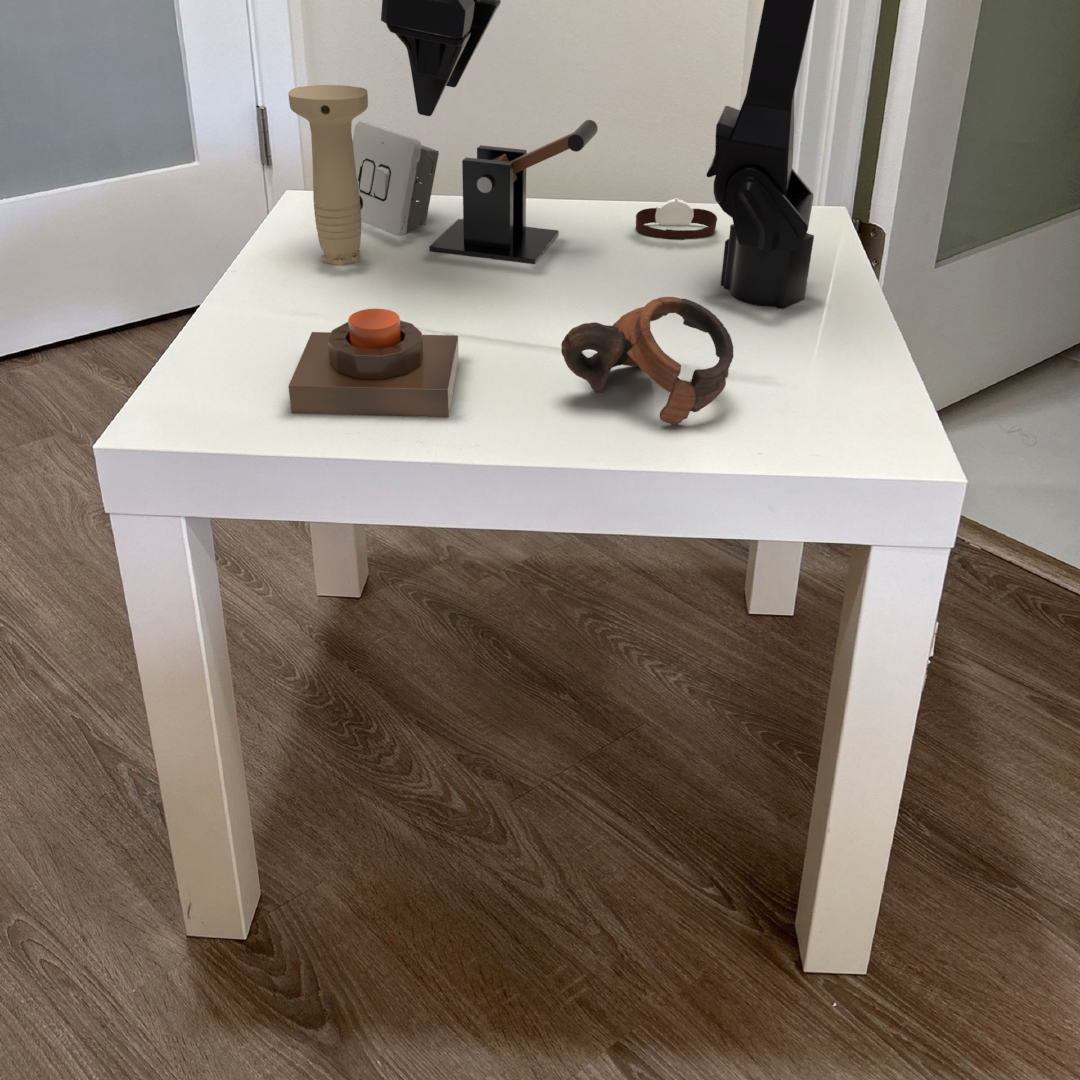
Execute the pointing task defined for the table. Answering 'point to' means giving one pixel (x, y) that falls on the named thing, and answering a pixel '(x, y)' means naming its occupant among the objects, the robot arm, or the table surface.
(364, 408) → the button block
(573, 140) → the lever
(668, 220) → the watch
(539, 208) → the table surface
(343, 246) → the handle
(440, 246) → the bracket
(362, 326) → the button
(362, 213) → the electrical switch
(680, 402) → the brown curved ring piece
